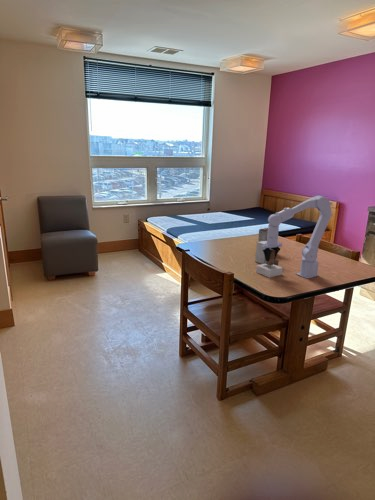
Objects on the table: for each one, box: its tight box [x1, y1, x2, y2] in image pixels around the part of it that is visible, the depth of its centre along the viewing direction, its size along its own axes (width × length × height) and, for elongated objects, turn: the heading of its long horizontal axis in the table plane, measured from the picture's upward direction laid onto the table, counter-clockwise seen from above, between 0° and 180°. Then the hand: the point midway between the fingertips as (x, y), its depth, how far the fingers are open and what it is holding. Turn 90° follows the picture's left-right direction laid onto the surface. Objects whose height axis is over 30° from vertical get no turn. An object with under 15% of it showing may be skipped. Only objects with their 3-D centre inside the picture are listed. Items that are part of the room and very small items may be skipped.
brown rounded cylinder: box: [266, 249, 275, 265], centre depth 191 cm, size 4×4×8 cm
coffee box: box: [257, 227, 268, 242], centre depth 232 cm, size 9×6×16 cm
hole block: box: [255, 264, 284, 279], centre depth 193 cm, size 10×10×4 cm
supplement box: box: [254, 241, 271, 265], centre depth 211 cm, size 7×7×13 cm
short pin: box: [274, 259, 279, 266], centre depth 204 cm, size 4×4×4 cm
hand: (270, 260), depth 192 cm, fingers closed on brown rounded cylinder, 4 cm apart
